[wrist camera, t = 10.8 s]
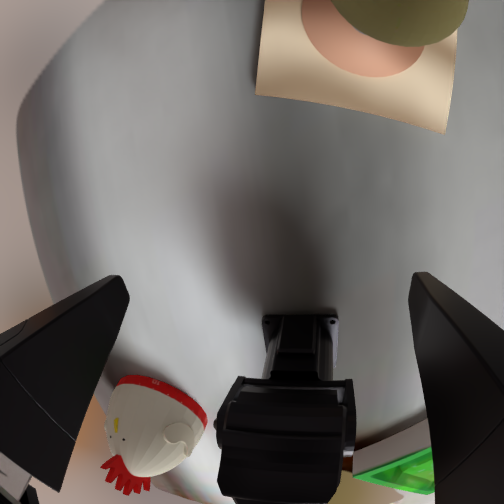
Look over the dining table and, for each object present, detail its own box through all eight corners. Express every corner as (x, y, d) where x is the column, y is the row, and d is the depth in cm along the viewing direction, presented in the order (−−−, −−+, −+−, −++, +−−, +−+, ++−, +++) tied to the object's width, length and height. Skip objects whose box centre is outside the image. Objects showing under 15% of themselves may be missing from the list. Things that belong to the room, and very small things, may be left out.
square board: (436, 131, 17) (446, 135, 15) (259, 94, 18) (254, 94, 16) (448, -19, 11) (457, -26, 9) (275, -57, 12) (272, -68, 11)
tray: (534, 414, 29) (541, 435, 25) (425, 474, 41) (427, 494, 37) (504, 364, 25) (516, 395, 21) (353, 449, 37) (352, 477, 33)
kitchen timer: (172, 372, 34) (121, 480, 21) (224, 431, 39) (196, 521, 26) (101, 375, 38) (53, 453, 25) (153, 428, 43) (121, 499, 31)
